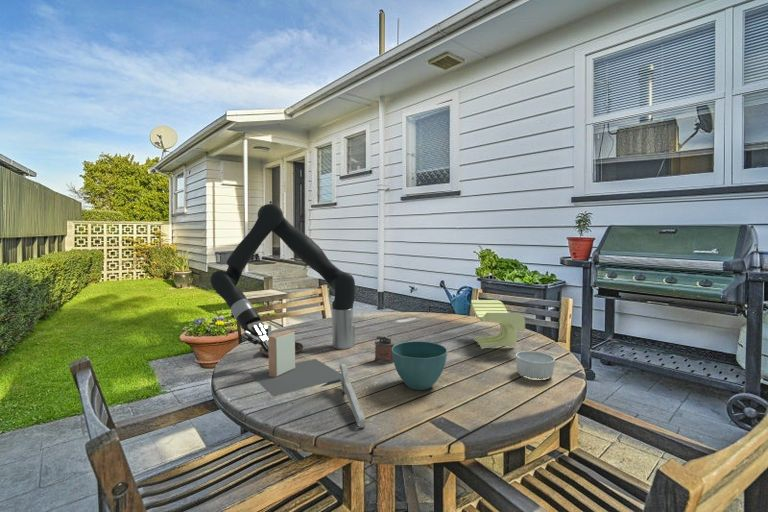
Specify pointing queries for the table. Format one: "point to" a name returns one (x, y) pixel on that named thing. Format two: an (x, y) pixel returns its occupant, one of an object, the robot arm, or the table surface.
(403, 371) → the teal bowl
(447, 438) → the table surface
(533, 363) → the ramekin
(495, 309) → the slatted curved stool
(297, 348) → the plant saucer
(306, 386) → the mat
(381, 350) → the lighter
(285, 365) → the tan rectangular block
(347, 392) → the wrench
